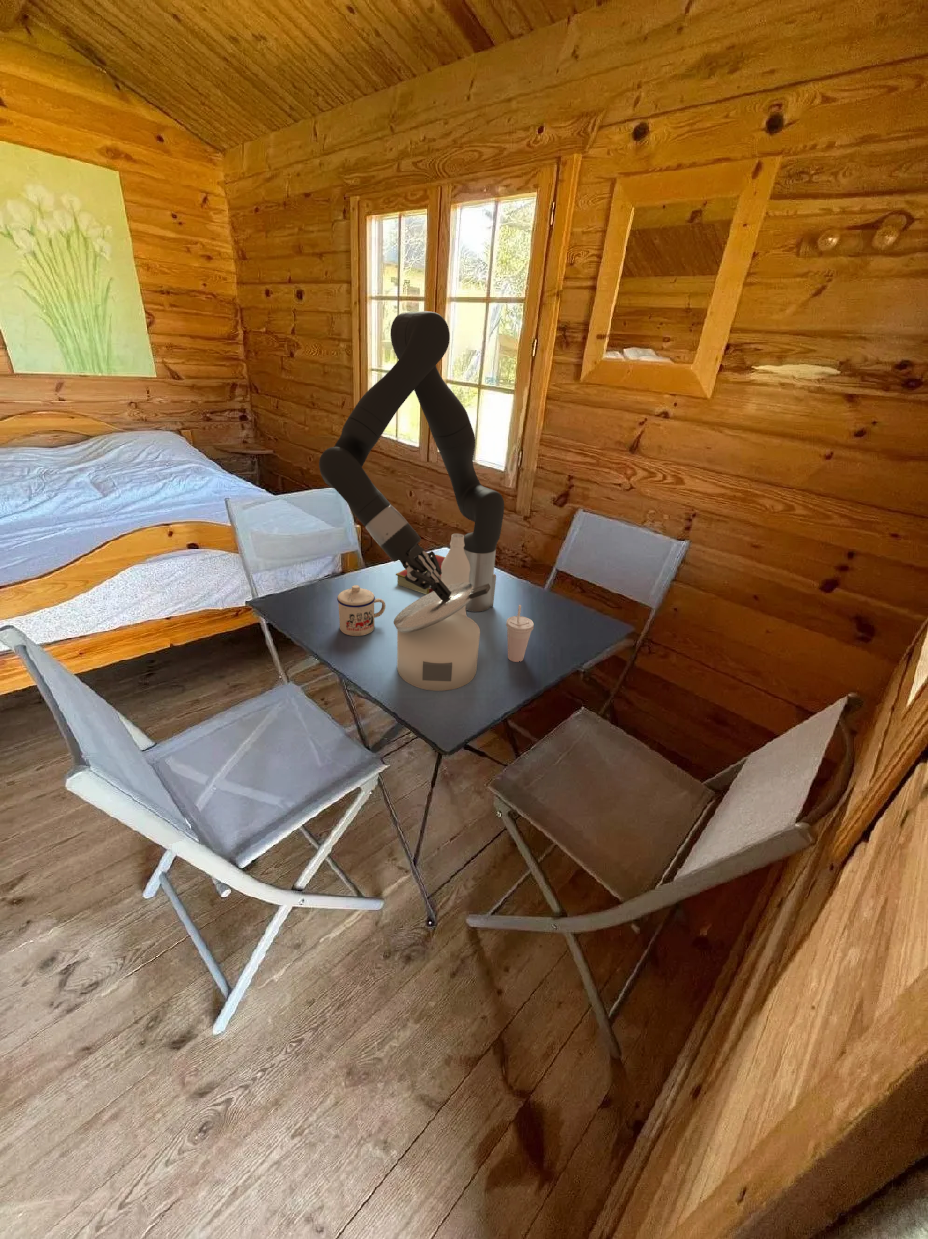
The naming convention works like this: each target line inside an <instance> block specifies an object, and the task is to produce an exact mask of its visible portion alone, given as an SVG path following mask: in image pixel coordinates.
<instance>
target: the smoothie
mask: <svg viewBox="0 0 928 1239" xmlns="http://www.w3.org/2000/svg"><path fill="white" fill-rule="evenodd" d="M517 609H518V610H517V615H513V616H510V617H508V618H507V619H506V622H505V623H506V624H505V626H506V628H507V631H506V632H507V635H506V636H507V658H508V660H510V661H511V662H514V663H515V662H516V663H519V661H520V662H522V661H523V660H524V657H525V654H526V651H527V646H528V644H529V640H530V636H531V634H532V631H533V630H534V624H535V623H534V622H533V620H532V619H530V618H528V617H526V616H522V615H521V612H522V604H518V608H517Z"/></svg>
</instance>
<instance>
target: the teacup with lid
mask: <svg viewBox="0 0 928 1239" xmlns="http://www.w3.org/2000/svg"><path fill="white" fill-rule="evenodd" d="M336 598H337V602H338V616H339V617H338V619H339V620H338V622H339V629H340V631H341V632H342V633H343V634H345V635H347V636H351V637H361V636H365V635H369V634H370V633H372V632H373V631H374V629H375V626H376V625H375V619H376V618H378V617H381V616H382V615H383V614H384V612H385V609H386V602H385V601H384V600H383V599H382V598H376V596H375V594H374V593H373V591H370V590H369V589H366V588H361V587H360V585H357V584H355V585H352V586H351V588H347V589H344V590H342V591H341V592H339V594H338V595H337V597H336ZM376 603H380V604H381V608H380V610H379V611H378V612H375V604H376Z"/></svg>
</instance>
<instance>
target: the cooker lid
mask: <svg viewBox="0 0 928 1239" xmlns="http://www.w3.org/2000/svg"><path fill="white" fill-rule="evenodd" d="M446 587H447V588H448V589H449V590H450V591H451V595H450V596H449V598H447V599H446V600H444V601H442V600H441V599H440V598H439V596H438V595H437V594H436V593H435V592H434V591H433V592H431V593H429V594H424V595H423V596H421V597H419V598H418V599H416V600H414V601H413V602H412V603H410V604H408V605H407V606H406V607H404V609H402V610H401V611H400V612H398V614H397V615H396V616H395V618H394V620H393V625H394V627H395V629H396V631H397V630H398V631H399V632H404V633H405V632H413V631H417V630H420V629H423V628H426V627H429V626H431V625H434V624H436V623H438V622H440V621H442V620H444V619H446V618H448V617H450V616H451V615H453V614H454V613H456V612H458V611H459V610H460V609H462V608H463V607H464V606H466V605H467V604H468V603H469V602H470V601H471V600H472V598H475V597H478V596H481V595H484V594H487V593H488V591H489V590H490V588H491V587H490V585H489V583H488V584H485V585H482V586H480V587H477V588H473V586H472V584H471V583H468V582H461V583H456V584H452V585H449V586H446Z"/></svg>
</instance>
